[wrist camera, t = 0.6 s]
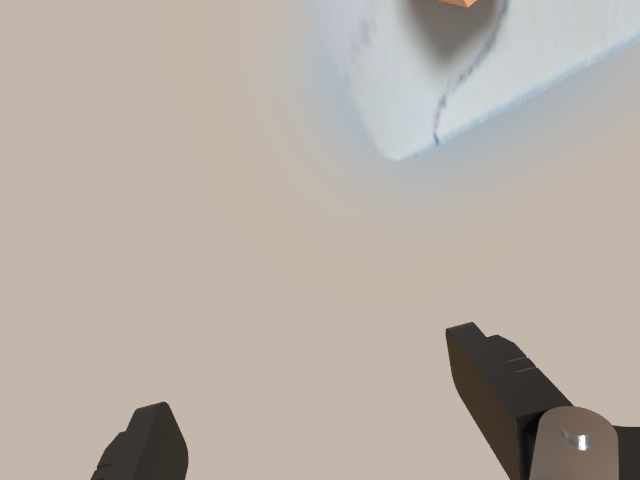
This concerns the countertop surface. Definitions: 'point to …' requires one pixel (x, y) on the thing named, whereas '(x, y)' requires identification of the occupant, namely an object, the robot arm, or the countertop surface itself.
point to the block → (459, 2)
